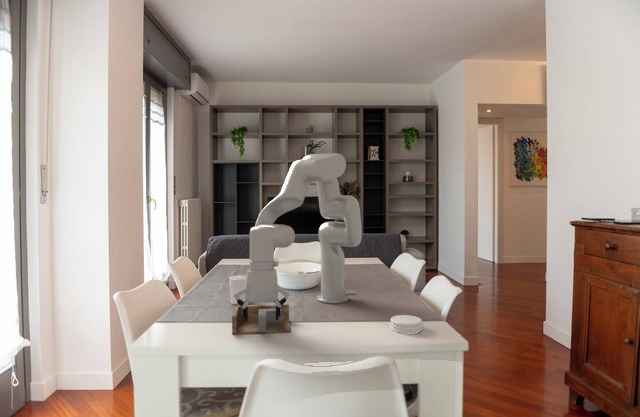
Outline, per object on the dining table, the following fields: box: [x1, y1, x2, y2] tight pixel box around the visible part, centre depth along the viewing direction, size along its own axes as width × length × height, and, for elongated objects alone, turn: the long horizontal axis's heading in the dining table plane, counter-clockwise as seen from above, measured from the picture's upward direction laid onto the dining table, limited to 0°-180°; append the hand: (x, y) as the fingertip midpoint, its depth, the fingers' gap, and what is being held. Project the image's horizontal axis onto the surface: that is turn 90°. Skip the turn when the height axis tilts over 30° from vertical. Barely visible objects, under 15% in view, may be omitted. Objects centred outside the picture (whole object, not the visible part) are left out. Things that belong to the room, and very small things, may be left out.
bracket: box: [257, 309, 282, 334], centre depth 135 cm, size 8×7×5 cm
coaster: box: [390, 314, 423, 334], centre depth 137 cm, size 10×10×4 cm
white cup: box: [228, 274, 247, 306], centre depth 167 cm, size 8×8×10 cm
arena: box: [231, 303, 292, 335], centre depth 138 cm, size 18×12×6 cm, turn 97°
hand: (261, 319), depth 135 cm, fingers open, 9 cm apart
